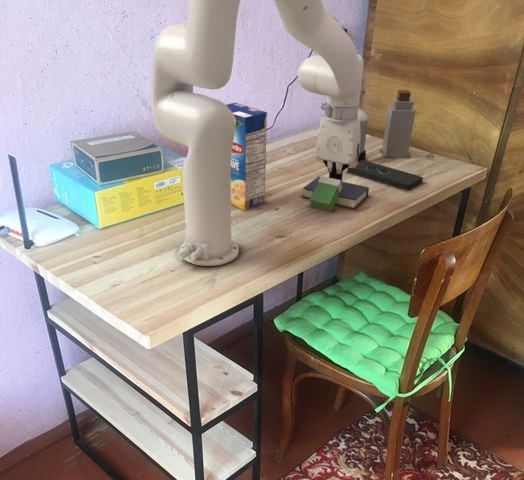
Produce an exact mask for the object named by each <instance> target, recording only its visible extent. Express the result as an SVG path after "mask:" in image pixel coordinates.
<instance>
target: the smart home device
mask: <svg viewBox="0 0 524 480" xmlns="http://www.w3.org/2000/svg"><path fill="white" fill-rule="evenodd" d="M346 170H347V173H349V174H353V175H355V176H359V177H362V178H365V179H369V180H371V181H375V182H379V183H382V184H383V185H388V186H391V187H394V188H397V189H401V190H403V191H410V190H412V189H414V188H416V187H417V186H419V185H422V184H423V179H424V177H423V176H421V175H417V174H413V173H410V172H407V171H404V170H400V169H397V168H393V167H390V166H386V165H382V164H379V163H376V162H372V161H368V160H366V159H365V160H361V161H358V166H357V167H356V168H347V169H346Z"/></svg>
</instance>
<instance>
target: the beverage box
mask: <svg viewBox="0 0 524 480" xmlns="http://www.w3.org/2000/svg"><path fill="white" fill-rule="evenodd" d="M225 105H226V106H227V107H228V108H229V109H230V110H231V112H232V114H233V116H234V119H235V135H234V141H233V146H232V152H231V169H230V177H231V206H232V205H233V206H235V207H237V208H239V209H241V210H244V211H246V210H249V209H251V208H254V207H258V206H260V205H262V204H265V203H266V202H265V201H266V200H265V199H266V165H267V163H266V161H267V159H266V158H267V127H268V125H267V123H268V122H267V121H268V112H267V111H264V110H261V109H258V108H254V107H251V106H248V105H244V104H241V103H238V102H231V103H228V104H225Z"/></svg>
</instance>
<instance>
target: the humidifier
mask: <svg viewBox="0 0 524 480" xmlns="http://www.w3.org/2000/svg"><path fill="white" fill-rule="evenodd" d="M365 73H366V74H365V76H367V74H368V72H365ZM366 84H367V80H365V82H364V88H363V89H364V90H366ZM361 93H362V89H361V90H360V94H361ZM365 96H366V94H364V95H363V97H365ZM364 101H365V98H363V99H362V103H364ZM360 107H361V106H360V105H359V108H358V117H357V118H359V119H360V130H361V139H360V153H359V157H358V161H361V160H366V158H367V151H366V149H365V146H366V140H367V131H368V125H369V124H368V123H369V120H368V119H369V117H368V114H367V113H366V112H365V111H364V110H363V108H364V105H362V107H361V108H360Z"/></svg>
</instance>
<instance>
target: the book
mask: <svg viewBox="0 0 524 480" xmlns="http://www.w3.org/2000/svg"><path fill="white" fill-rule="evenodd" d="M320 177H321V176H320V175H319V176H316V177H315V178H314V179H313V180H312V181H310V182H309V183H308V184H305V186H304V187H302V189H303V196H302V198H304V199H308V200H310V197H311V195H312V193H313V191H314V189H315V187H316V185H317V183H318V181H319V179H320ZM341 184H342V189H341V191H340V194H339V196H338V198H337V200H336V202H335V204H334V206H338V207H342V208H347V209H350V210H355V209H357V208H358V207H359V206H360V205H361V204H362V203H363V202H364V201H365V200H366V199H367V198H368V197H369V191H370V187H369V186H366V185H365V186H364V185H360V184H355V183H351V182H348V181H347V182H346V181H342V183H341Z"/></svg>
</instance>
